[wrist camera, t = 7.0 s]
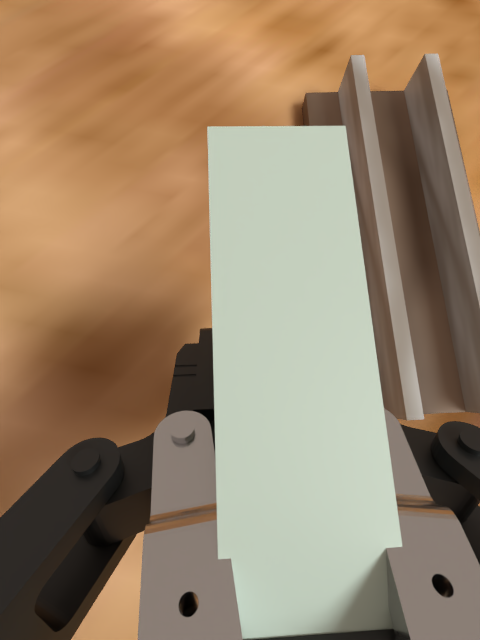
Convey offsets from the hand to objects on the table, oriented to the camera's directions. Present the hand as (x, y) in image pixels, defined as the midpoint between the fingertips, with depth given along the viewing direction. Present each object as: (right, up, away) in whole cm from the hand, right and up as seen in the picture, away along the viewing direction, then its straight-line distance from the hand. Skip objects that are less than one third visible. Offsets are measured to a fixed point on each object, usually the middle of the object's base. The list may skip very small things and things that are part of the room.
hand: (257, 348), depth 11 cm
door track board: (+11, +7, +14) cm, 20 cm away
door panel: (0, -2, +5) cm, 5 cm away
